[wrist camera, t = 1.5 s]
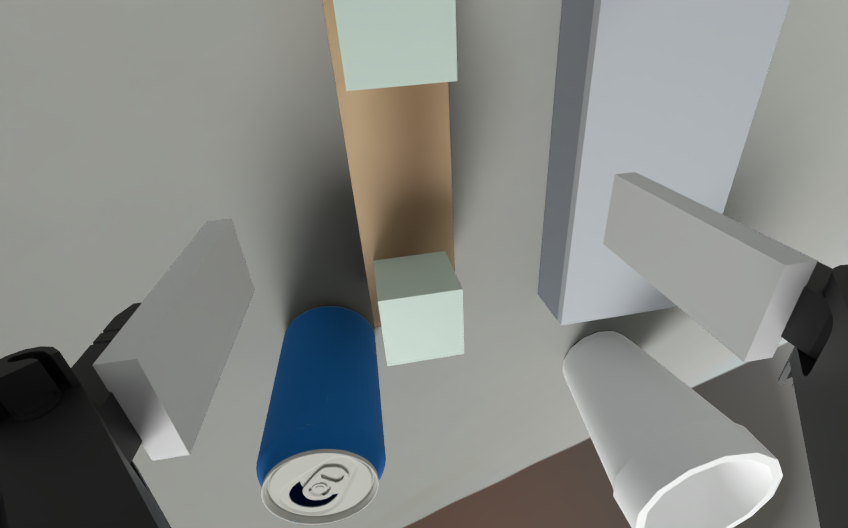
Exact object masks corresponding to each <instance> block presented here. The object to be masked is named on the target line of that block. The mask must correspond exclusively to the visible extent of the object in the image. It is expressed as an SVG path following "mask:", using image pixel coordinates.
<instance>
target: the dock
mask: <svg viewBox="0 0 848 528" xmlns="http://www.w3.org/2000/svg"><path fill="white" fill-rule="evenodd" d="M789 2H790V0H562V12H561V24H560V36H559V48H558V60H557V72H556V84H555V95H554V107H553V119H552V131H551V143H550V155H549V167H548V179H547V191H546V202H545V214H544V226H543V238H542V250H541V262H540V274H539V286H538V295H539V296H540V298H541V299H542V300H543V302H544V303H545V304H546V306H547V307H548V308H549V310H550V311H551V313H552V314H553V315H554V317H555V318H556V319H557V321H558V322H559V323H560V325H567V324H574V323H580V322H586V321H592V320H599V319H605V318H611V317H617V316H624V315H630V314H636V313H642V312H648V311H655V310H661V309H667V308H673V307H678V306H677V305H675V304H674V303H673V302H672V301H671V300H669V299H668V298H667V297H666V296H665V295H663V294H662V293H661V292H660V291H659V290H657V289H656V288H655V287H654V286H653V285H652V284H650V283H649V282H648V281H647V280H646V279H644V278H643V277H642V276H641V275H640V274H638V273H637V272H636V271H635V270H634V269H632V268H631V267H630V266H629V265H628V264H626V263H625V262H624V261H623V260H622V259H621V258H619V257H618V256H617V255H616V254H615V253H613V252H612V251H611V250H610V249H609V248H607V247H606V246H605V245H604V244H603V241H604V235H605V229H606V223H607V217H608V211H609V205H610V199H611V193H612V187H613V181H614V176H615V174H621V173H630V172H636V173H638V174H640V175H642V176H644V177H647V178H649V179H651V180H653V181H655V182H657V183H659V184H661V185H663V186H665V187H667V188H669V189H671V190H673V191H675V192H677V193H679V194H681V195H684V196H686V197H688V198H690V199H692V200H694V201H696V202H698V203H700V204H702V205H704V206H706V207H708V208H710V209H712V210H714V211H716V212H719V213H721V214H723V212H724V208H725V205H726V202H727V199H728V196H729V193H730V189H731V186H732V183H733V180H734V177H735V173H736V170H737V167H738V164H739V161H740V158H741V154H742V151H743V148H744V145H745V142H746V139H747V135H748V132H749V129H750V126H751V123H752V120H753V116H754V113H755V110H756V107H757V104H758V101H759V97H760V94H761V91H762V88H763V85H764V82H765V78H766V75H767V72H768V69H769V66H770V63H771V59H772V56H773V53H774V50H775V47H776V44H777V40H778V37H779V34H780V31H781V28H782V25H783V21H784V18H785V15H786V12H787V9H788V6H789Z"/></svg>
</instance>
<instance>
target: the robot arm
mask: <svg viewBox="0 0 848 528" xmlns="http://www.w3.org/2000/svg"><path fill="white" fill-rule="evenodd" d="M603 244H604V245H605V246H606V247H607V248H609V249H610V250H611V251H612V252H613V253H615V254H616V255H617V256H618V257H619V258H621V259H622V260H623V261H624V262H625V263H626V264H628V265H629V266H630V267H631V268H632V269H634V270H635V271H636V272H637V273H638V274H640V275H641V276H642V277H643V278H644V279H646V280H647V281H648V282H649V283H650V284H652V285H653V286H654V287H655V288H656V289H657V290H659V291H660V292H661V293H662V294H663V295H665V296H666V297H667V298H668V299H669V300H671V301H672V302H673V303H674V304H675V305H677V306H678V307H679V308H680V309H681V310H683V311H684V312H685V313H686V314H687V315H688V316H690V317H691V318H692V319H693V320H694V321H696V322H697V323H698V324H699V325H700V326H702V327H703V328H704V329H705V330H706V331H708V332H709V333H710V334H711V335H712V336H714V337H715V338H716V339H717V340H718V341H719V342H721V343H722V344H723V345H724V346H725V347H727V348H728V349H729V350H730V351H731V352H733V353H734V354H735V355H736V356H737V357H739V358H740V359H741V360H742V361H743V362H748V361H754V360H760V359H766V358H772V357H773V355H774V353H775V350H776V349H777V346H778V344H779V342H780V340H781V338H782V337H783V338H784V339H785V340H787V341H788V342H790V343H791V344H792V345H794V346H795V347H794V349H793V351H792V353H791V355H790V357H789V359H788V361H787V363H786V365H785V367H784V369H783V371H782V373H781V375H780V377H779V380H778V383H779V384H782V385H783V384H784V383H785V381H786V379H788V378H791V377H792V378H793V385H792V387H793V388H795V394H796V398H797V404H798V409H799V415H800V421H801V425H802V431H803V437H804V442H805V447H806V453H807V458H808V463H809V468H810V474H811V479H812V485H813V490H814V495H815V501H816V506H817V511H818V517H819V522H820V527H821V528H848V265H840V266H838V267H835V268H834V269H832V268H830V267H828V266H826V265H824V264H822V263H820V262H818V261H817V260H815V259H813V258H811V257H809V256H807V255H805V254H803V253H801V252H799V251H797V250H795V249H793V248H791V247H788V246H786V245H784V244H782V243H780V242H778V241H776V240H774V239H772V238H770V237H768V236H766V235H764V234H762V233H760V232H758V231H756V230H753V229H751V228H749V227H747V226H745V225H743V224H741V223H739V222H737V221H735V220H733V219H731V218H729V217H727V216H725V215H723V214H721V213H719V212H716V211H714V210H712V209H710V208H708V207H706V206H704V205H702V204H700V203H698V202H696V201H694V200H692V199H690V198H688V197H686V196H684V195H681V194H679V193H677V192H675V191H673V190H671V189H669V188H667V187H665V186H663V185H661V184H659V183H657V182H655V181H653V180H651V179H649V178H647V177H644V176H642V175H640V174H638V173H636V172H630V173H621V174H615V176H614V181H613V187H612V193H611V199H610V205H609V211H608V217H607V223H606V229H605V235H604V241H603ZM254 290H255V289H254V286H253V283H252V280H251V277H250V274H249V271H248V268H247V265H246V261H245V258H244V255H243V252H242V249H241V246H240V243H239V240H238V237H237V234H236V231H235V228H234V225H233V221H232V219H224V220H215V221H207V222H206V223H205V225H204V226H203V227H202V228H201V230H200V231H199V232H198V233H197V235H196V236H195V237H194V238H193V240H192V241H191V242H190V243H189V245H188V246H187V247H186V248H185V250H184V251H183V252H182V253H181V255H180V256H179V257H178V258H177V260H176V261H175V262H174V263H173V265H172V266H171V267H170V268H169V270H168V271H167V272H166V273H165V275H164V276H163V277H162V278H161V280H160V281H159V282H158V283H157V285H156V286H155V287H154V288H153V290H152V291H151V292H150V293H149V295H148V296H147V297H146V298H145V300H144V301H143V302H142V303H136V304H133V305H131V306H130V307H128V308H127V309H125V310H124V311H123V312H121V313H120V314H118V315H117V316H115V317H114V319H113V320H112V321H111V322H110V323H109V324H108V326H107V327H106V328H105V329H104V330H103V333H101V334H100V335H99V336H98V337H97V338H96V340H95V341H94V342H93V343H94V345H91V346H90V347H89V348H88V349H87V350H86V351H85V353H84V354H83V355H82V356H81V357H80V358H79V360H78V361H77V362H76V363H75V364H74V365H73V367H72V368H70V367H69V365H68V364H67V362H66V361H65V359H64V358H63V356H62V355H61V353H60V352H59V351H58V350H57V349H55V348H54V347H36V348H31V349H25V350H22V351H19V352H17V353H14V354H11V355H8V356H6V357H4V358H2V359H0V528H171V527H170V525H169V523H168V521H167V519H166V518H165V516H164V514H163V512H162V511H161V509H160V507H159V505H158V504H157V502H156V500H155V498H154V497H153V495H152V493H151V491H150V489H149V488H148V486H147V484H146V482H145V481H144V479H143V477H142V475H141V474H140V472H139V470H138V468H137V467H136V466H135V464H134V463H133V461H132V460H133V458H134V456H135V454H136V452H137V450H138V448H139V446H140V445H141V443H142V445H143V447H144V448H145V450H146V451H147V453H148V454H149V456H150V458H151V459H152V461H154V460H160V459H166V458H172V457H178V456H184V455H190V452H191V450H192V447H193V445H194V442H195V440H196V437H197V435H198V432H199V430H200V427H201V425H202V422H203V420H204V417H205V414H206V412H207V409H208V407H209V404H210V402H211V399H212V397H213V394H214V392H215V389H216V387H217V384H218V382H219V379H220V376H221V374H222V371H223V369H224V366H225V364H226V361H227V359H228V356H229V354H230V351H231V349H232V346H233V344H234V341H235V339H236V336H237V333H238V331H239V328H240V326H241V323H242V321H243V318H244V316H245V313H246V311H247V308H248V306H249V303H250V301H251V298H252V295H253V293H254Z"/></svg>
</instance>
